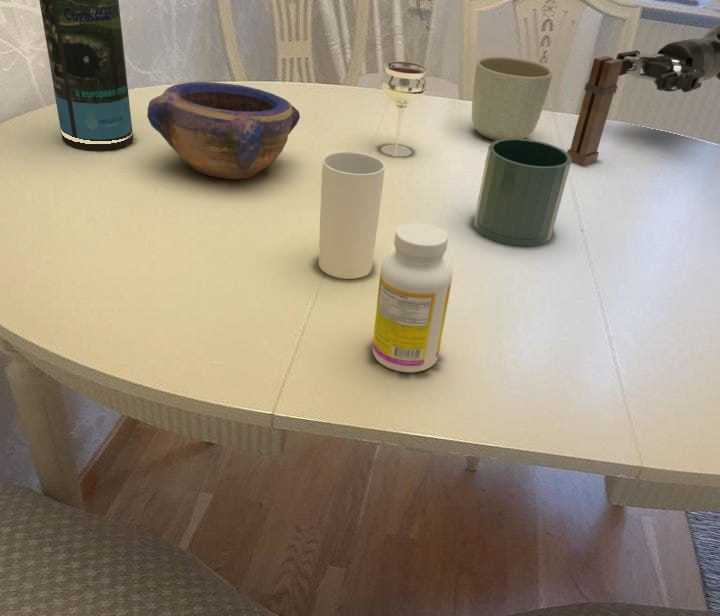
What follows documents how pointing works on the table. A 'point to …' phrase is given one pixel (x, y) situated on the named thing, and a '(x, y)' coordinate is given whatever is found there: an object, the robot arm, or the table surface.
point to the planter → (508, 96)
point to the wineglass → (402, 94)
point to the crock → (521, 191)
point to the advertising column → (88, 71)
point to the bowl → (223, 126)
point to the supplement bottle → (412, 299)
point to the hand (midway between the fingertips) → (637, 75)
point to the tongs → (595, 109)
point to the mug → (349, 213)
